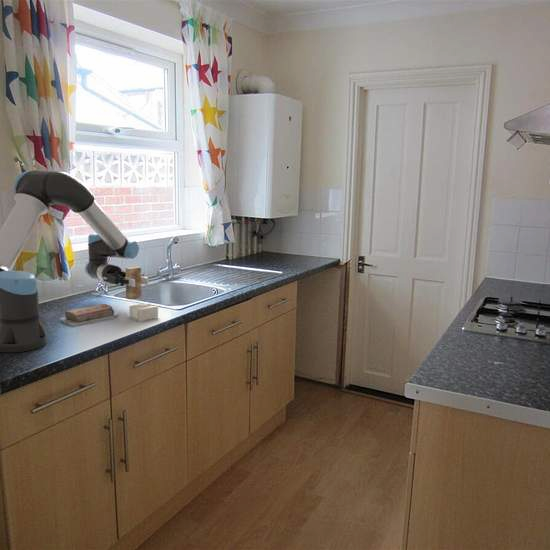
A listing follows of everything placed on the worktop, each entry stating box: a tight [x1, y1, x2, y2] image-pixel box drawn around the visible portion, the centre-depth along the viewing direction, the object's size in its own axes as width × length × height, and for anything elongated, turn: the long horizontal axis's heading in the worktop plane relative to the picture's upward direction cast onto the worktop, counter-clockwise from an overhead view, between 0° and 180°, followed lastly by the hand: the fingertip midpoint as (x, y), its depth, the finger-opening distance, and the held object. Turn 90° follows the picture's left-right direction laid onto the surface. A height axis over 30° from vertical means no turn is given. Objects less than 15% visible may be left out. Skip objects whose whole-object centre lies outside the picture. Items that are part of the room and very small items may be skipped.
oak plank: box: [124, 266, 143, 300], centre depth 203 cm, size 5×3×12 cm, turn 136°
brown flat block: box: [59, 303, 118, 327], centre depth 197 cm, size 18×5×10 cm
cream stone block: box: [129, 302, 159, 322], centre depth 200 cm, size 8×7×4 cm
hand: (140, 282), depth 199 cm, fingers closed on oak plank, 5 cm apart
